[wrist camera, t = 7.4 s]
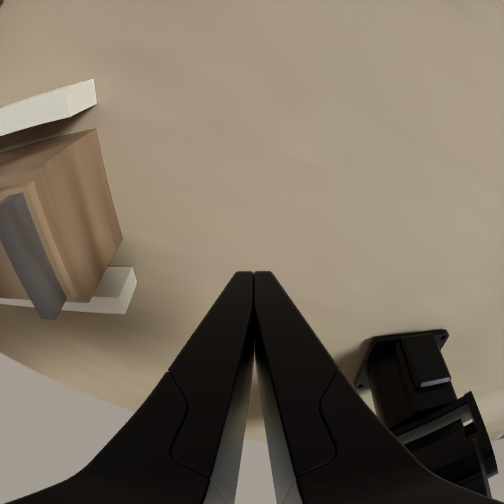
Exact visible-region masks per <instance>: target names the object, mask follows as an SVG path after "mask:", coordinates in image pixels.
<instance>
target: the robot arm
mask: <svg viewBox="0 0 504 504" xmlns="http://www.w3.org/2000/svg"><path fill="white" fill-rule="evenodd" d="M448 337H449V334H448V332H447V330H437V331H429V332H421V333H413V334H404V335H395V336H385V337H377V338H375V339H373V340H372V342H371V344H370V346H369V349H368V351H367V354H366V356H365V359H364V361H363V364H362V366H361V368H360V371H359V373H358V375H357V378H356V380H355V382H354V386H355V389H366V388H370V389H371V393H372V398H373V402H374V406H375V411H376V415H377V416H376V415H375V414H374V413H373V411H372V410H371V409H370V408H369V407H368V406H367V404H366V403H365V402H364V401H363V400H362V398H361V397H360V396H359V394H358V393H357V392H356V390H355V389H354V388H353V386H352V385H351V384H350V382H349V381H348V379H347V378H346V377H345V375H344V374H343V372H342V371H341V370H339V367H338V365H337V364H336V363H335V361H334V360H333V358H332V357H331V355H330V354H329V353H328V351H327V350H326V348H325V347H324V346H323V344H322V343H321V341H320V340H319V338H318V337H317V336H316V334H315V333H314V331H313V330H312V328H311V327H310V326H309V324H308V323H307V321H306V320H305V319H304V317H303V316H302V314H301V313H300V311H299V310H298V309H297V307H296V306H295V304H294V303H293V302H292V300H291V299H290V297H289V296H288V294H287V293H286V292H285V290H284V289H283V287H282V286H281V285H280V283H279V282H278V280H277V279H276V277H275V276H274V275H273V273H272V272H271V271H256V272H254V274H253V272H252V271H238V272H236V273H235V274H234V276H233V277H232V278H231V280H230V281H229V283H228V284H227V286H226V287H225V288H224V290H223V291H222V293H221V294H220V296H219V297H218V298H217V300H216V301H215V303H214V304H213V306H212V307H211V308H210V310H209V311H208V313H207V314H206V316H205V317H204V319H203V320H202V321H201V323H200V324H199V326H198V327H197V329H196V330H195V331H194V333H193V334H192V336H191V337H190V339H189V340H188V341H187V343H186V344H185V346H184V347H183V349H182V350H181V352H180V353H179V354H178V356H177V357H176V359H175V360H174V362H173V363H172V364H171V366H170V367H169V369H168V371H169V372H166V373H165V374H164V376H163V377H162V379H161V380H160V381H159V383H158V384H157V386H156V387H155V388H154V390H153V391H152V392H151V394H150V395H149V396H148V398H147V399H146V400H145V402H144V403H143V404H142V405H141V407H140V408H139V409H138V410H137V411H136V412H135V414H134V415H133V416H132V417H131V418H130V419H129V420H128V422H127V423H126V424H125V425H124V426H123V427H122V428H121V429H120V430H119V431H118V433H117V434H116V435H115V436H114V437H113V438H112V439H111V440H110V441H109V442H108V443H107V445H106V446H105V447H104V448H103V449H102V450H101V451H100V452H99V453H98V454H97V455H96V456H95V457H94V458H93V460H92V461H91V462H90V463H89V464H88V465H87V466H86V467H84V468H83V469H82V470H81V471H79V472H78V473H77V474H75V475H74V476H72V477H70V478H69V479H67V480H65V481H63V482H60V483H58V484H55V485H53V486H51V487H48V488H46V489H43V490H40V491H38V492H36V493H33V494H30V495H27V496H25V497H22V498H19V499H16V500H13V501H11V502H7V503H5V504H234V502H235V495H236V488H237V481H238V474H239V468H240V461H241V454H242V446H243V440H244V432H245V425H246V418H247V411H248V403H249V396H250V388H251V381H252V373H253V365H254V340H255V362H256V370H257V377H258V383H259V390H260V397H261V404H262V410H263V417H264V424H265V430H266V437H267V443H268V450H269V456H270V463H271V468H272V476H273V482H274V488H275V494H276V501H277V504H504V502H500V501H498V500H495V499H492V496H491V492H490V487H489V483H488V478H490V477H492V476H494V475H496V474H498V470H497V464H496V460H495V456H494V453H493V449H492V446H491V442H490V439H489V436H488V434H487V431H486V428H485V425H484V422H483V420H482V417H481V414H480V412H479V409H478V407H477V404H476V402H475V399H474V397H473V394H472V392H471V391H470V392H468V393H466V394H464V396H463V397H461V398H459V399H457V396H456V394H455V391H454V388H453V386H452V383H451V375H450V373H449V370H448V368H447V365H446V363H445V361H444V358H443V356H442V353H441V351H440V350H441V349H442V347H443V345H444V344H445V342H446V340H447V338H448ZM470 419H472V421H473V422H472V423H470V424H468V425H466V426H464V425H463V423H464V422H466V421H468V420H470Z"/></svg>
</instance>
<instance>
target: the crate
mask: <svg viewBox="0 0 504 504" xmlns="http://www.w3.org/2000/svg"><path fill="white" fill-rule="evenodd" d="M122 239H123V237H122V233H121V230H120V226H119V223H118V219H117V216H116V212H115V208H114V204H113V201H112V197H111V193H110V189H109V185H108V181H107V176H106V172H105V168H104V163H103V159H102V154H101V149H100V145H99V140H98V135H97V130H96V129H91V130H86V131H82V132H77V133H73V134H68V135H64V136H60V137H56V138H52V139H48V140H44V141H40V142H37V143H33V144H30V145H26V146H23V147H19V148H16V149H13V150H9V151H6V152H3V153H0V298H7V299H22V300H31V302H32V303H33V305H34V307H35V309H36V310H37V312H38V314H39V315H40V317H41V318H44V319H55V320H56V318H57V316H58V315H59V313H60V311H61V309H62V307H63V305H64V303H65V302H79V303H89V302H90V300H91V298H92V296H93V294H94V292H95V290H96V288H97V286H98V284H99V282H100V280H101V278H102V276H103V274H104V272H105V271H106V269H107V267H108V265H109V263H110V261H111V259H112V257H113V256H114V254H115V252H116V250H117V248H118V247H119V245H120V243H121V241H122Z"/></svg>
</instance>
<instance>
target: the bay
mask: <svg viewBox="0 0 504 504" xmlns="http://www.w3.org/2000/svg"><path fill="white" fill-rule="evenodd" d="M96 104H97V100H96V93H95V85H94V79H91V80H87V81H82V82H79V83H75V84H71V85H67V86H64V87H60V88H57V89H53V90H50V91H47V92H43V93H40V94H37V95H34V96H31V97H28V98H25V99H22V100H20V101H17V102H14V103H11V104H9V105H6V106H4V107H1V108H0V136H3V135H6V134H9V133H12V132H15V131H18V130H22V129H25V128H29V127H32V126H36V125H40V124H43V123H47V122H51V121H55V120H59V119H64V118H68V117H71V116H73V115H75V114H77V113H79V112H81V111H83V110H85V109H87V108H89V107H91V106H94V105H96ZM136 285H137V281H136V277H135V274H134V271H133V267H107V269H106V271H105V272H104V274H103V276H102V278H101V280H100V282H99V284H98V286H97V288H96V290H95V292H94V294H93V296H92V298H91V300H90V302H89V303H79V302H65V303H64V305H63V307H62V309H61V310H67V311H80V312H94V313H110V314H126V311H127V308H128V306H129V303H130V300H131V298H132V295H133V293H134V290H135V288H136ZM0 304H7V305H16V306H25V307H34V305H33V303H32V302H31V300H22V299H7V298H0ZM34 308H35V307H34Z"/></svg>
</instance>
